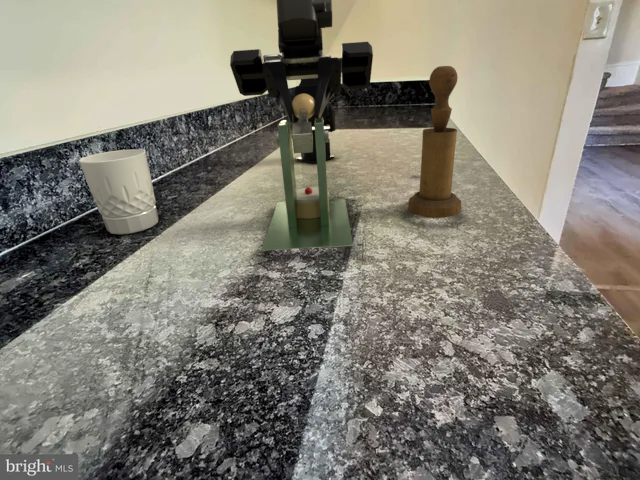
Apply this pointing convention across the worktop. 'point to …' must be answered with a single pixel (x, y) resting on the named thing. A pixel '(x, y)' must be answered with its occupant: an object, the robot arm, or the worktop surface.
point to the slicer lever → (303, 123)
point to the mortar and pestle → (438, 154)
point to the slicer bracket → (285, 221)
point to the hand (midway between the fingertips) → (304, 119)
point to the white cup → (121, 189)
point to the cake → (308, 203)
